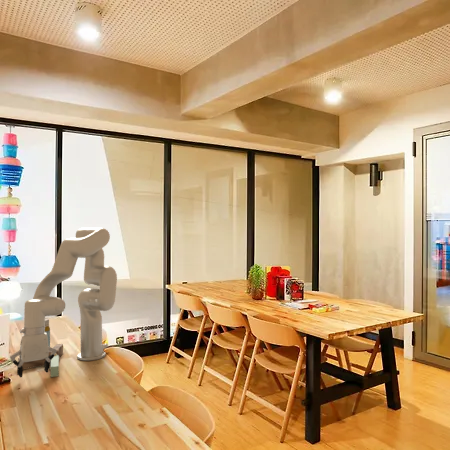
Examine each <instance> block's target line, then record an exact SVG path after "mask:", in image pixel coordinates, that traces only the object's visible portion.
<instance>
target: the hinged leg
mask: <svg viewBox="0 0 450 450" xmlns="http://www.w3.org/2000/svg"><path fill="white" fill-rule="evenodd" d="M59 365H60V357H59V355H56V354H55V355H54V357H53V358H52V360H51V365H50V378H54V377H59V376H60V375H59V374H60V372H59V371H60V370H59V369H60V366H59Z"/></svg>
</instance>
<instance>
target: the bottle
mask: <svg viewBox="0 0 450 450" xmlns="http://www.w3.org/2000/svg"><path fill="white" fill-rule="evenodd" d="M45 333H47V337H48V346H49V347H51V327H50V318H48V317H47V318H46V317H45Z"/></svg>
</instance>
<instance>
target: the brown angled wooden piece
mask: <svg viewBox="0 0 450 450" xmlns="http://www.w3.org/2000/svg"><path fill="white" fill-rule="evenodd" d="M52 348H54V349H56V350H57V352H56V355H59V358H60V357H61V356H62V355H63V353H64V344H63V343H56V344H55V345H54V346H53V347H52ZM51 353H52V351H49V356H50V354H51ZM49 356H48V357H49ZM19 360H20V357H19V358H17V362H18V361H19ZM45 360H46V359H41V360H35V361H29V362H24V363H23V364H22V367H23V370H27V369H31V368H37V367H42V366H43V367H44V362H45ZM50 366H51V361H50Z"/></svg>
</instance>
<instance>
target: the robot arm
mask: <svg viewBox="0 0 450 450" xmlns="http://www.w3.org/2000/svg"><path fill="white" fill-rule="evenodd" d="M110 236H111V234H110V232H109V231H108V229H106V228H103V227H81V228H79V229H77V230H76V233H75V237H70V238H69V237H68V238H66V239H64V240H63V241H62V242H61V243H60V246H59V249H58V251H57V255H56V258H55V261H54V263H53V266H52V269H51V271H50V272H49V273H47V275H46V276H45V277H44V278H43V279H42V280H41V281H40V283H39V284H38V285H37V287H36V289H35V291H34V295H33V297H32V299H28V300H26V301H25V302H24V310H23V311H24V313H23V315H24V318H23V319H24V320H23V324H24V325H23V328H22V329H20V330H19V333H20V334H22V335H21V339H20V345H19V350H17V351H16V352H15V353H12V354H11V355H9V359H10V360H11V362H12V364H14V365H15V366H16V367H17V370H16V371H17V372H16V375H17V376H19V378H23V370H24V369H23V367H22V364H23V363H24V362H29V361H35V360H41V359H46V360H45V362H44V365H43V368H44V369H43V370H44V373H49V370H50V369H51V365H50V361H51V360H52V358H53V357H54V355H55V354H56V352H57V350H56V349H54V348H53V347H52V346H50V347H49V346H48V337H47V333H45V318H46V317H52V316H54V317H55V316H58V315H61V314H62V313H63V312H64V311H65V309H66V303H65V300H64V299H62V298H61V297H57V296H56V297H55V296H51V295H52V294H51V293H52V291H53V290H54V288H55V287H56V286H57V285H58V284H60V283H63V282H65V281H66V280H68V279H70V278H72V276H73V274H74V271H75V267H76V264H77V261H78V258H79V259H80V258H81V259H82V258H83V259H84V258H85V260H84V261H85V262H84V271H83V281H84V283H85V284H87V286H93V287H94V286H95V287H99V288H90V287H89V288H84V289H83V290H81V291H80V292H79V295H78V296H77V302H78V309H79V316H80V352H79V353H77V356H76V358H77V359H78V360H80V361H84V362H85V361H86V362H87V361H89V362H90V361H95V360H100V359H103V358H105V357H106V354H107V353H106V351H104V349H106V348H108V347H109V344H108V343H107V342H106V343H103V316H102V314H101V311H102V312H107V311H110V310H112V308H113V307H114V305H115V302H116V293H117V281H118V274H117V271H116V269H114V267H113V266H109V265H105V252H104V249H103V248H105V246H107V245H108V244H109V242H110V238H111V237H110ZM49 351H52V353H51V354H50V356H49ZM18 356H19V358H20V360H19V361H18V360H16V358H17V357H18ZM48 356H49V357H48Z"/></svg>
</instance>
